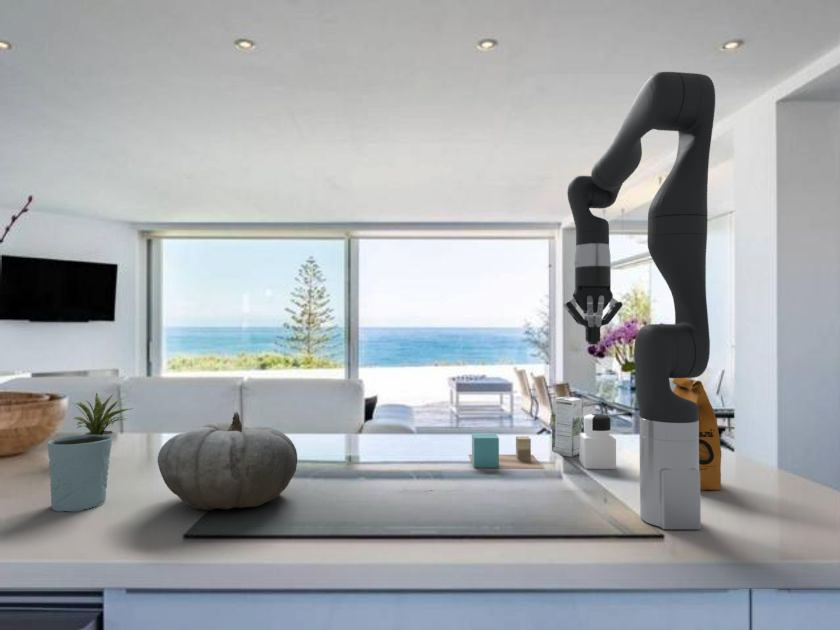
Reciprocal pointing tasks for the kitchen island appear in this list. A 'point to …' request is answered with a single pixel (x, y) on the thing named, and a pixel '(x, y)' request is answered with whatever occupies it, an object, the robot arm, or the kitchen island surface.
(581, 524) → the kitchen island surface
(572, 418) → the syrup box
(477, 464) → the teal foam cube
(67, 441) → the blue planter pot
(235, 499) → the gourd
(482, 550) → the kitchen island surface
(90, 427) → the house plant
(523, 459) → the board
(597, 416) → the medicine bottle
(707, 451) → the coffee package
